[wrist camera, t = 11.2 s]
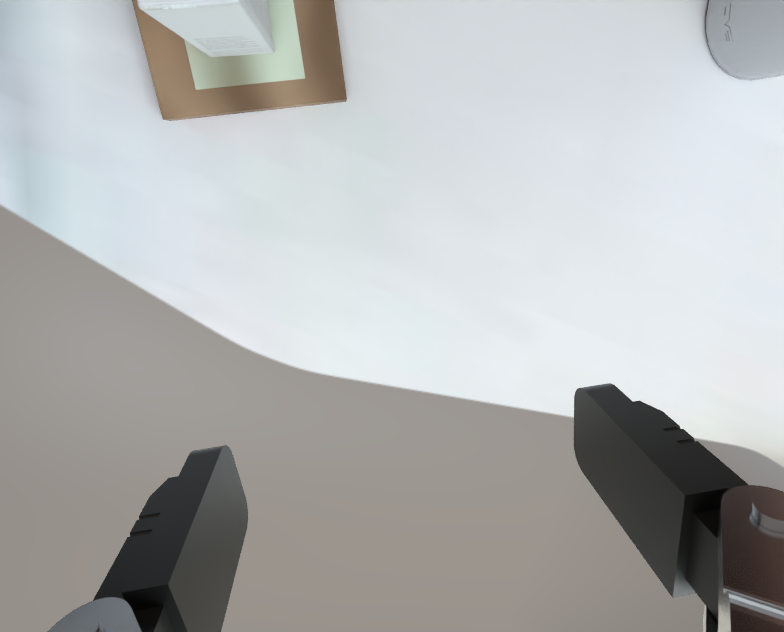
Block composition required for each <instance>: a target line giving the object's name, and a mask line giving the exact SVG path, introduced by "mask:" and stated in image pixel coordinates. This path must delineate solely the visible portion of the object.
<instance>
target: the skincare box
mask: <svg viewBox="0 0 784 632" xmlns="http://www.w3.org/2000/svg"><path fill="white" fill-rule="evenodd" d="M137 3H138V7H139V8H140V9H141V10H142V11H144V12H145V13H147V14H148V15H150V16H151V17H153V18H154V19H156V20H157V21H158V22H160V23H161V24H163V25H164V26H166V27H167V28H169V29H170V30H172V31H173V32H175V33H176V34H177V35H179V36H180V37H182V38H183V39H185V40H186V41H187V42H189V43H190V44H192V45H193V46H195V47H196V48H198V49H199V50H201V51H202V52H204V53H205V54H206V55H208V56H209V57H222V56H239V55H256V54H271V53H274V52H275V49H274V42H273V36H272V29H271V22H270V16H269V9H268V3H267V0H137Z"/></svg>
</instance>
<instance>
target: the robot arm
mask: <svg viewBox="0 0 784 632" xmlns="http://www.w3.org/2000/svg"><path fill="white" fill-rule="evenodd" d="M706 33H707V39H708V45H709V47H710V50H711V53H712V55H713V57H714V59H715V60H716V62H717V63H718V65H719V66H720V67H721V68H722V69H723V70H725V71H726V72H727V73H728V74H730V75H732V76H734V77H737V78H739V79H746V80H755V79H763V78H769V77H776V76H782V75H784V0H709V5H708V10H707V15H706ZM574 450H575V455H576V458H577V461H578V464H579V466H580V468H581V470H582V472H583V473H584V475H585V476H586V478H587V479H588V480H589V482H590V483H591V485H592V486H593V487H594V489H595V490H596V492H597V493H598V494H599V496H600V497H601V499H602V500H603V501H604V503H605V504H606V505H607V507H608V508H609V510H610V511H611V512H612V514H613V515H614V517H615V518H616V519H617V520H618V522H619V523H620V525H621V526H622V528H623V529H624V531H625V532H626V533H627V535H628V536H629V538H630V539H631V540H632V542H633V543H634V544H635V545H636V547H637V549H638V550H639V551H640V553H641V554H642V555H643V557H644V558H645V560H646V561H647V563H648V564H649V565H650V567H651V568H652V570H653V571H654V572H655V574H656V575H657V576H658V578H659V579H660V581H661V582H662V583H663V585H664V586H665V588H666V589H667V590H668V592H669V593H670V595H671V596H672V597H673V598H674V597H679V596H685V595H690V594H695V593H697V595H698V596H699V597H700V598H701V600H702V601H703V602H704V604H705V609H704V616H703V632H784V492H783V491H780V490H777V489H773V488H769V487H764V486H756V485H748V484H747V483H746V482H745V481H744V480H742V479H741V478H740V477H739V476H738V475H736V474H735V473H734V472H733V471H732V470H731V469H729V468H728V467H727V466H726V465H725V464H724V463H722V462H721V461H720V460H719V459H718V458H716V457H715V456H714V455H713V454H712V453H711V452H709V451H708V450H707V449H706V448H705V447H704V446H702V445H701V444H700V443H699V442H698V441H696V442H695V441H694V438H693V437H692V436H691V435H690V434H688V433H687V432H686V431H685V430H684V429H680V426H679V425H678V424H677V423H675V422H674V421H673V420H672V419H671V418H670V417H668V416H667V415H666V414H665V413H664V412H662V411H660V410H658V409H656V408H654V407H652V406H650V405H647V404H645V403H643V402H641V401H635V402H632V401H631V400H630V399H629V398H628V397H627V396H626V395H625V394H624V393H623V392H621V391H620V390H619V389H618V388H617V387H616V386H615V385H613V384H610V383H609V384H603V385H596V386H590V387H584V388H579V389H577V390H576V392H575V397H574ZM247 523H248V509H247V502H246V498H245V494H244V491H243V487H242V484H241V481H240V478H239V475H238V471H237V468H236V464H235V461H234V458H233V455H232V452H231V450H230V448H229V447H228V446H220V447H213V448H208V449H201V450H195V451H192V452H191V453H190V455H189V456H188V458H187V460H186V462H185V464H184V466H183V468H182V470H181V472H180V475H179V476H178V477H172V478H168V479H167V480H166V481H165V482H164V483H163V484H162V485H161V486H160V487H159V488H158V489H157V490H156V491H155V492H154V493H153V494H152V495H151V496H150V497H149V499H148V501H147V503H146V505H145V506H144V508H143V510H142V512H141V514H140V516H139V520H137V521H136V523H135V525H134V527H133V528H132V530H131V532H130V537H127V539H126V541H125V543H124V545H123V547H122V548H121V550H120V552H119V554H118V556H117V558H116V559H115V562H114V563H113V565H112V567H111V569H110V570H109V572H108V574H107V576H106V578H105V580H104V581H103V583H102V585H101V587H100V589H99V591H98V592H97V594H96V596H95V598H94V600H93V601H91V602H89V603H87V604H85V605H82V606H80V607H79V608H77V609H75V610H73V611H72V612H70V613H69V614H68V615H66V616H65V617H63V618H62V619H61V620H60V621H58V622H57V623H56V624H55V625H54V626H53V627H52V628H51V629H50V630H49V631H48V632H221V628H222V625H223V621H224V617H225V613H226V609H227V605H228V601H229V597H230V593H231V589H232V585H233V581H234V577H235V573H236V569H237V565H238V561H239V557H240V553H241V549H242V546H243V542H244V538H245V533H246V530H247Z"/></svg>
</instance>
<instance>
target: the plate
mask: <svg viewBox="0 0 784 632" xmlns="http://www.w3.org/2000/svg"><path fill="white" fill-rule="evenodd" d="M132 2H133V6H134V10H135V13H136V17H137V21H138V25H139V29H140V33H141V37H142V41H143V44H144V48H145V52H146V56H147V60H148V64H149V68H150V72H151V75H152V79H153V83H154V87H155V91H156V95H157V99H158V103H159V107H160V110H161V114H162V118H163V120H169V121H172V120H181V119H190V118H199V117H209V116H218V115H227V114H236V113H245V112H254V111H263V110H273V109H282V108H291V107H300V106H309V105H318V104H327V103H337V102H346V100H347V99H346V91H345V83H344V76H343V68H342V60H341V52H340V45H339V37H338V29H337V22H336V14H335V6H334V0H267V3H268V9H269V16H270V22H271V29H272V36H273V42H274V49H275V52H274V53H271V54H256V55H239V56H222V57H209V56H208V55H206V54H205V53H204V52H202V51H201V50H199V49H198V48H196V47H195V46H193V45H192V44H190V43H189V42H187V41H186V40H185V39H183V38H182V37H180V36H179V35H177V34H176V33H175V32H173V31H172V30H170V29H169V28H167V27H166V26H164V25H163V24H161V23H160V22H158V21H157V20H156V19H154V18H153V17H151V16H150V15H148V14H147V13H145V12H144V11H142V10H141V9H140V8H139V7H138V3H137V0H132Z"/></svg>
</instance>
